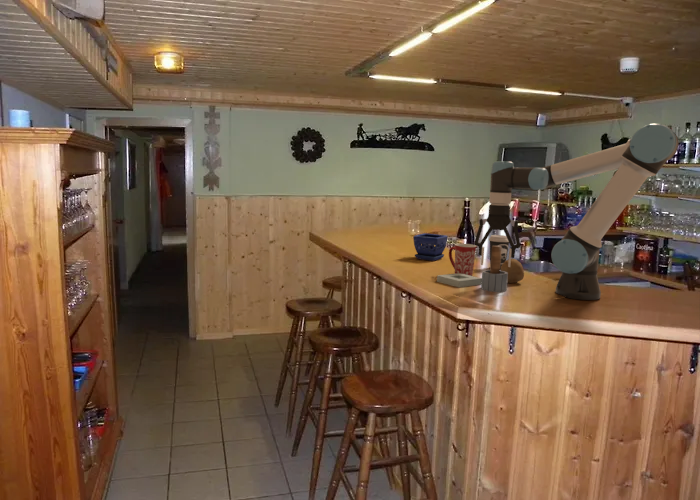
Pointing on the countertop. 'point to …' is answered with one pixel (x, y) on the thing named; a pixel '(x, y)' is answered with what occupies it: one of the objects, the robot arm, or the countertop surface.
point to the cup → (494, 281)
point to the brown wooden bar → (495, 259)
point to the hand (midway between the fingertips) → (495, 265)
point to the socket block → (459, 280)
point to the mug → (463, 258)
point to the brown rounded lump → (513, 270)
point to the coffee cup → (499, 241)
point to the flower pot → (430, 246)
